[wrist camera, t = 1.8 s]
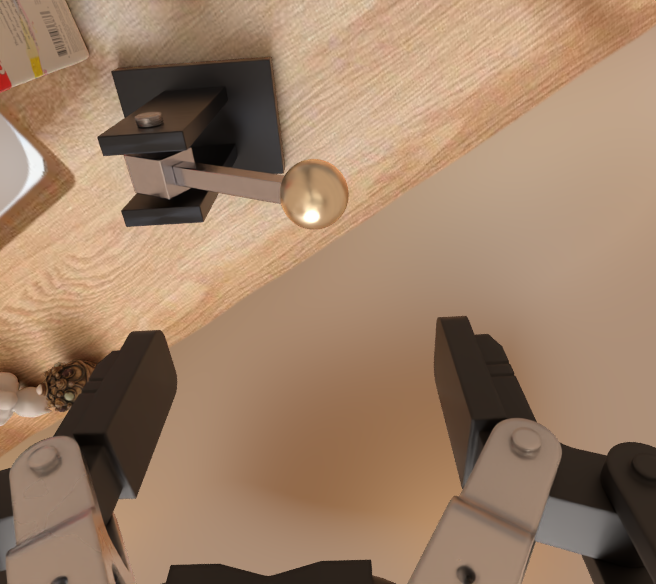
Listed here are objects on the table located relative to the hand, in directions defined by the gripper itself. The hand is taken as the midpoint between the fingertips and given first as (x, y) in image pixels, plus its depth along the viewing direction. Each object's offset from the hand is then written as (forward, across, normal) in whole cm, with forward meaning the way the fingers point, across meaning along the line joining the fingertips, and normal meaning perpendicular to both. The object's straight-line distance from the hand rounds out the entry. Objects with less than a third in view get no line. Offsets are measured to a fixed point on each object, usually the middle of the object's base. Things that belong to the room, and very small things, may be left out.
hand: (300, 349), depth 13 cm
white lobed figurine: (+24, +36, +24) cm, 49 cm away
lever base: (+27, +9, 0) cm, 28 cm away
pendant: (+25, +27, +26) cm, 45 cm away
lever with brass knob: (+15, +3, 0) cm, 15 cm away
